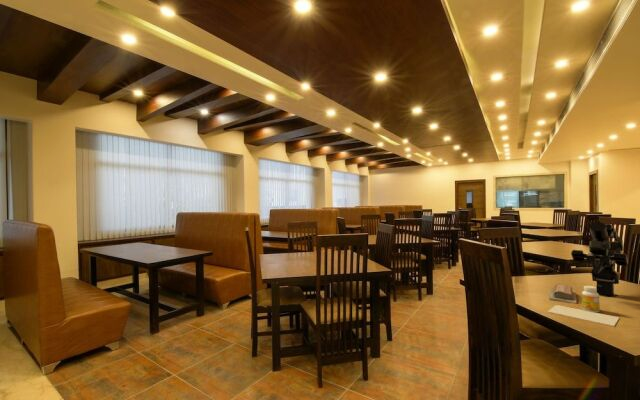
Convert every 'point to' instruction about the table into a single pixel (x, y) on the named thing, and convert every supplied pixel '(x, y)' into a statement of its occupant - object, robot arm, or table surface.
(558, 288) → the packaged product
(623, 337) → the table surface
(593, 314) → the rubber mat
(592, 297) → the supplement bottle
